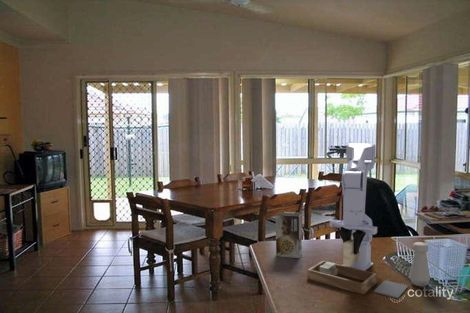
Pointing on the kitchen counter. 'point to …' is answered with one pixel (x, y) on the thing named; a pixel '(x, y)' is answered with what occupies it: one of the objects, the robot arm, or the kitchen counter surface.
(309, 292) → the kitchen counter surface
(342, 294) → the kitchen counter surface
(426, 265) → the salt shaker
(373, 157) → the robot arm
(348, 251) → the cream flat block
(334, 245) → the kitchen counter surface
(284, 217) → the coffee box
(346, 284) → the tray
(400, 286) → the rubber mat
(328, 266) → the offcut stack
